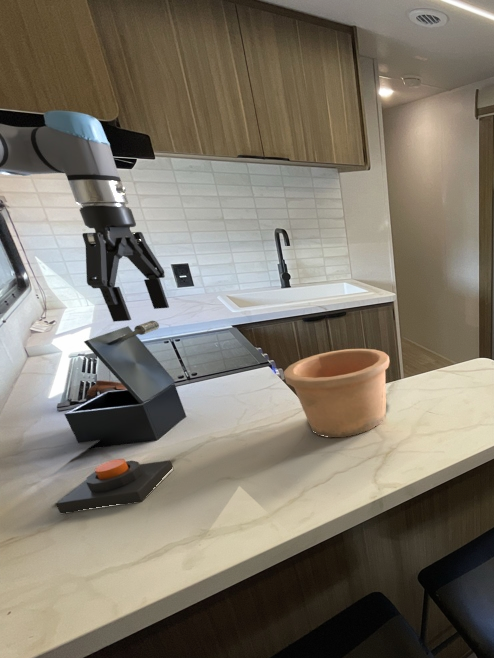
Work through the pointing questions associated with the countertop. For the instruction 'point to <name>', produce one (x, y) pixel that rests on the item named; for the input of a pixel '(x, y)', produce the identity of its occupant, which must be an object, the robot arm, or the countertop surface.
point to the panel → (115, 487)
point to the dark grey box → (125, 418)
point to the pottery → (341, 390)
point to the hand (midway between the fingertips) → (143, 314)
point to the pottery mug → (103, 388)
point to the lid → (132, 360)
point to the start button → (111, 468)
